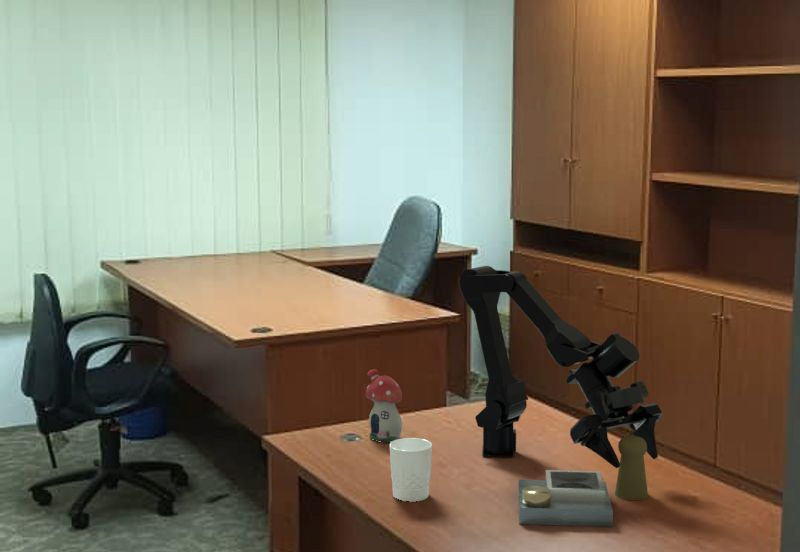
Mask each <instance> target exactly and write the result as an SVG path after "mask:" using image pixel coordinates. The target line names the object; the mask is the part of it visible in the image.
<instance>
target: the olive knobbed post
mask: <svg viewBox="0 0 800 552" xmlns="http://www.w3.org/2000/svg"><path fill="white" fill-rule="evenodd" d="M617 448H618V452H619V453H620V458H619V463H620V466H619V467H618V471H617V478H616V483H615V490H614V494H615V496H616V497H618V498H620V499H621V500H622V499H623V500H627V501H641V500H645V499H647V498H648V496H649V495H648V494H649V492H648V485H647V483H648V482H647V474H646V473H647V472H646V465H645V464H646V463H645V457H644V456H645V455H646V454H647V444H646V442H645V440H644V439H643V438H641V437H637V436H634V435H628V436H627V435H626V436H623V437H622V438H620V440H619V442H618V447H617Z"/></svg>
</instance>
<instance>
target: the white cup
mask: <svg viewBox="0 0 800 552" xmlns="http://www.w3.org/2000/svg"><path fill="white" fill-rule="evenodd" d="M432 453H433V443H432V442H431V441H429V440H427V439H424V438H420V437H419V438H418V437H403V438H398V439H397V440H394V441H392V442H389V463H390V464H389V465H390V474H391V475H390V476H391V483H392V496H393V498H394V499H396V498H397V499H396V500H398V499H399V501H400V500H402V501H401V502H406V501H409V502H408V503H412V502H414V503H416V501H417V502H421V501H424V500H426V499H429V495H430V483H431V475H432V474H431V473H432V456H433V455H432Z"/></svg>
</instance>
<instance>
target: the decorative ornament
mask: <svg viewBox="0 0 800 552" xmlns="http://www.w3.org/2000/svg"><path fill="white" fill-rule="evenodd" d="M367 377H368V378H369V379H370V383H369V384H368V386H367V387H366V391H365V397H366V399H368V400H370V401H372V402H373V403H374V404H373V407H372V409H371V411H370V413H369V417H368V424H369V428H370V429H369V430H370V433H369V438H370V439H371V438H372V439H374V440H377V441H381V442H389V443H391V442H390V441H394V440H397V439H400V437H401V433H402V430H403V421H402V417H401V415H400V413H399V411H398V409H397V406H396V404H398V403H399V402H401V400H402V399H403V393H402V389H401V388H400V385H399V384H398V383H397V381H395V379H393V378H392V377H391V376H388V375H379V370H378V369H376V368H373V369H370V370H368V372H367ZM372 439H371V440H372ZM374 440H373V441H374ZM377 441H376V442H377ZM381 442H380V443H381Z"/></svg>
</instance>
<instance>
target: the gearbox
mask: <svg viewBox="0 0 800 552" xmlns="http://www.w3.org/2000/svg"><path fill="white" fill-rule="evenodd" d="M517 488H518V493H517V495H518V525H535V526H536V525H540V526H541V525H542V526H569V527H570V526H571V527H572V526H573V527H574V526H575V527H599V528H601V527H602V528H607V527H608V528H612V527H613V522H614V521H613V520H614V519H613V515H614V510H613V505H612V501H611V497H610V494H609V490H608V486H607V482H606V481H603V476H602V472H601V471H597V470H594V471H593V470H569V469H568V470H566V469H565V470H564V469H561V470H560V469H559V470H558V469H545V479H520V478H519V479H518V487H517Z"/></svg>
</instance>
